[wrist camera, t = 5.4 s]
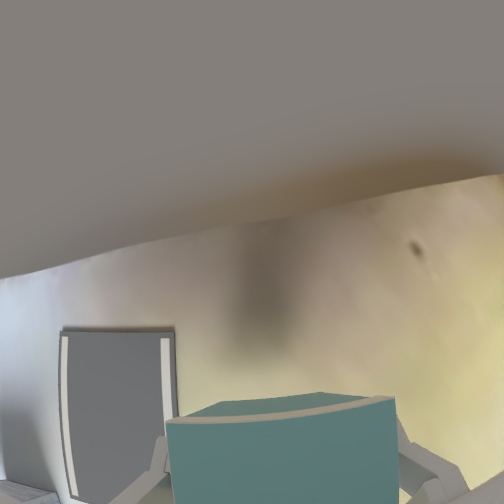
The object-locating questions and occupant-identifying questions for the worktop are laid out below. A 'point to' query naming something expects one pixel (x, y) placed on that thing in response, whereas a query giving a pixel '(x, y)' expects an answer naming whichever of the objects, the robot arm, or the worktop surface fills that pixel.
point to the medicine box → (28, 493)
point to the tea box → (287, 451)
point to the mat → (113, 407)
